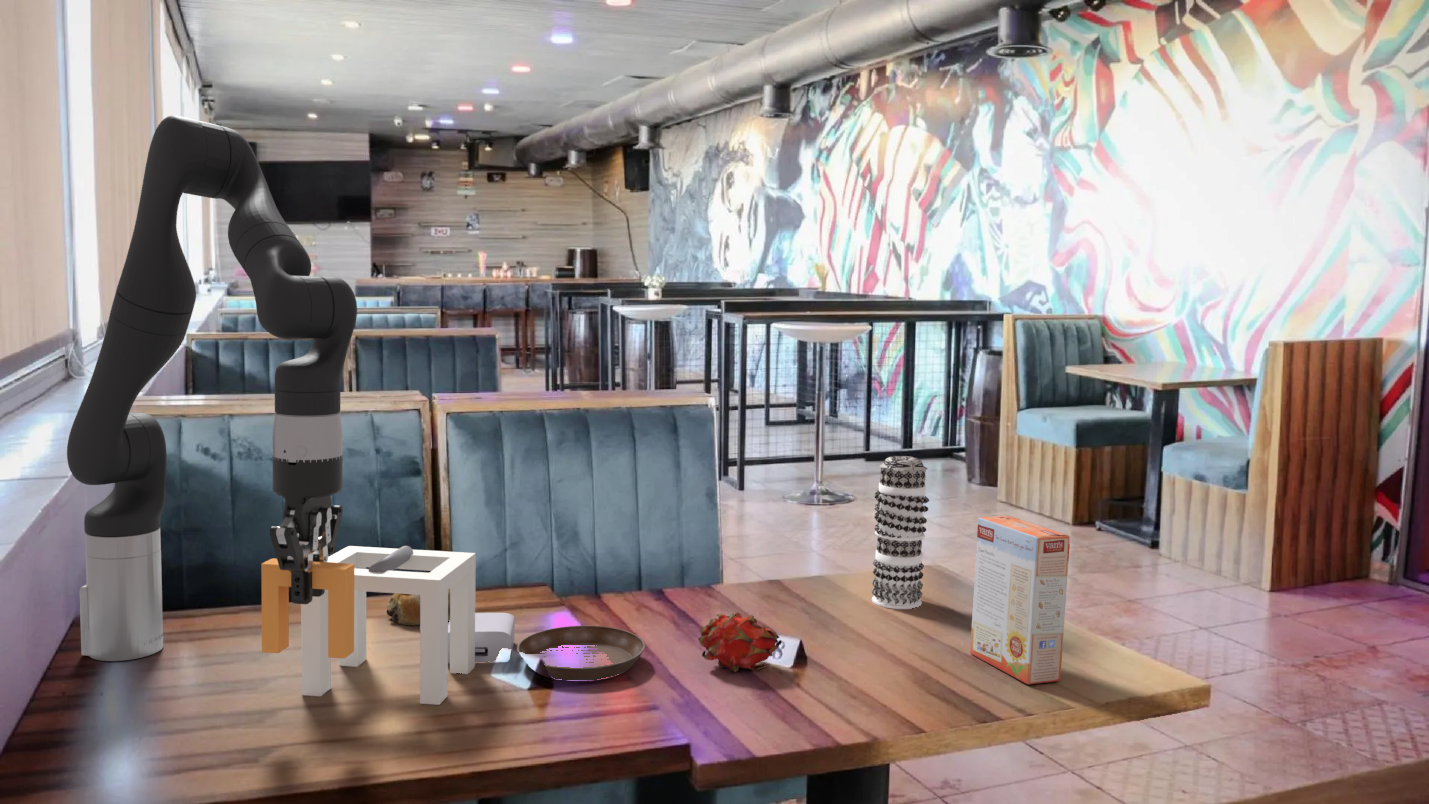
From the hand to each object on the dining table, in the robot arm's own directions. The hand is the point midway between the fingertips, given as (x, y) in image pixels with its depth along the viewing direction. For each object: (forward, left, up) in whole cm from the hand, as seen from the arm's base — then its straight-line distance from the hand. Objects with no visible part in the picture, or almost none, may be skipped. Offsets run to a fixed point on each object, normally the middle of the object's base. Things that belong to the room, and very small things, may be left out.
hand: (308, 598), depth 129 cm
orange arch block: (0, 0, -6) cm, 6 cm away
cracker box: (+87, +38, -16) cm, 96 cm away
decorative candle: (+72, +68, -16) cm, 100 cm away
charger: (+10, +33, -16) cm, 38 cm away
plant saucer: (+26, +28, -16) cm, 42 cm away
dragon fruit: (+48, +31, -16) cm, 59 cm away
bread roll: (-3, +44, -16) cm, 47 cm away
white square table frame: (+3, +17, -16) cm, 24 cm away
